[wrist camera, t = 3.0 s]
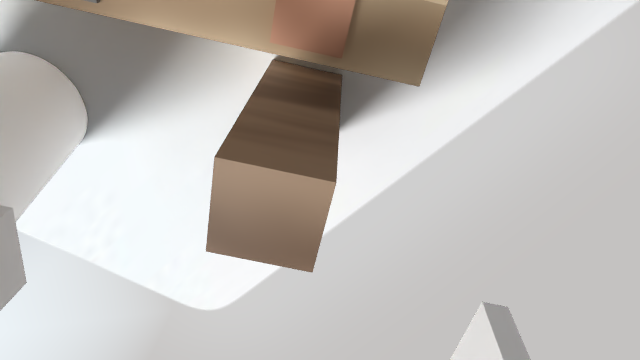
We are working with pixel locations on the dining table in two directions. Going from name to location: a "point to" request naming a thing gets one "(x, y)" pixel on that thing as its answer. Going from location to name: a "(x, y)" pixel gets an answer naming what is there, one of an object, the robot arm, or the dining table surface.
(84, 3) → the box
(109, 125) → the dining table surface
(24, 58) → the cup
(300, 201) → the plug
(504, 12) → the dining table surface
